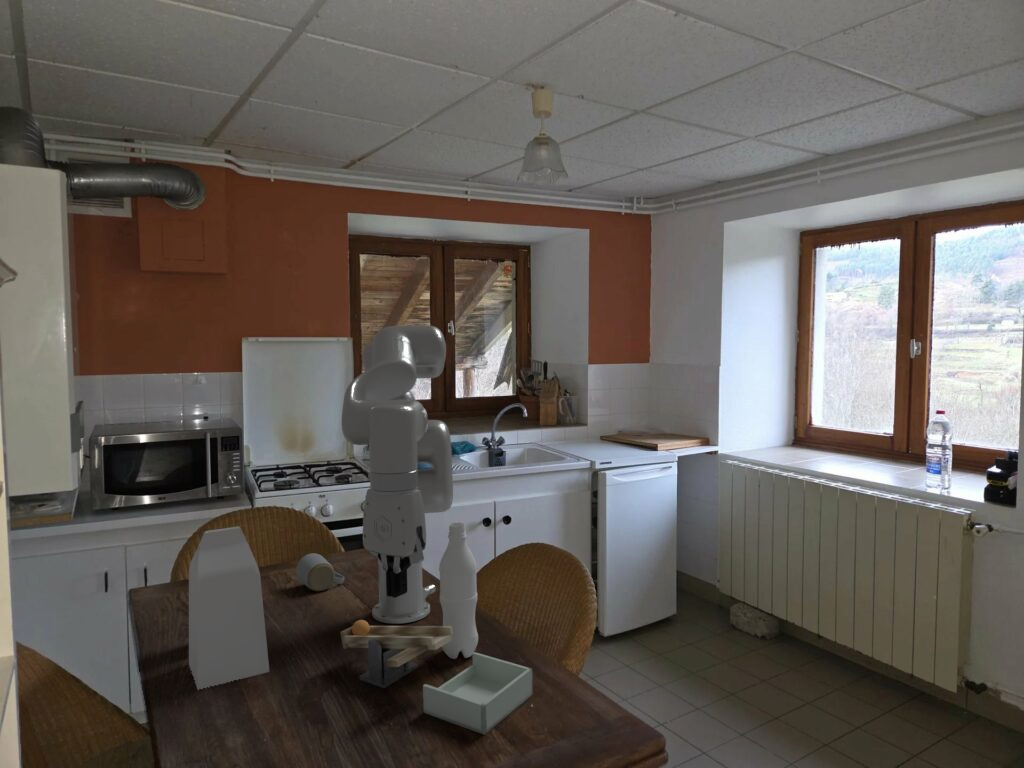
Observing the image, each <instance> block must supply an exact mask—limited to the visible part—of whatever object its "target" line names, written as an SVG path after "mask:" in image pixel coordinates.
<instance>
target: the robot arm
mask: <svg viewBox="0 0 1024 768" xmlns="http://www.w3.org/2000/svg"><path fill="white" fill-rule="evenodd" d="M446 344H447V343H446V340H445V336H444V334H443V332H442V331H441V329H439V327H436V326H434V325H427V324H426V325H424V324H422V325H392V326H391V325H390V326H386V327H383V328H382V329H380V330H379V331H378V332H376V334H375V335H374V338H373V340H372V342H369V343H368V344H366V345H365V346H364V348H363V351H362V362H363V367H364V371H363V372H362V373H360V374H359V375H358V376H356V377H355V378H354V379H353V380H351V382H350V383H349V384H348V386H347V388H346V389H345V393H344V397H343V403H342V411H341V431H342V434H343V437H344V439H345V440H346V441H347V442H348V443H350V444H352V445H355V446H356V445H357V446H366V445H369V447H368V448H369V450H368V452H369V472H368V473H367V479H368V480H369V482H370V483H369V484H370V486H369V487H370V488H368V489H367V490H366V494H365V499H364V507H363V515H362V517H363V518H362V545H363V547H364V549H366V550H367V551H369V553H370V554H371V555H373V556H375V558H377V565H378V568H377V569H378V570H377V571H378V573H377V574H378V598H379V600H378V603H377V604H375V605H374V607H372V610H371V611H372V612H371V614H372V615H371V616H372V617H373V619H374V620H375V621H377V622H380V623H384V624H392V625H394V624H395V625H396V624H400V625H401V624H408V623H413V622H417V621H420V620H422V619H425V618H426V617H427V616H428V615H429V614H430V612H431V605H430V603H429V602H428V601H426V598H427V597H428V596H430V595H431V594H434V593H435V592H436V591H437V589H436V586H435V585H434V584H431V583H430V584H429V585H427V586H425V587H423V561H424V560H425V558H424V557H425V556H424V551H425V549H426V546H427V525H426V515H425V514H436V513H444V512H447V511H448V510H450V509H451V507H452V505H453V500H454V483H453V482H454V481H453V480H454V479H453V464H452V463H453V462H452V461H453V460H452V459H453V458H452V441H451V440H452V439H451V434H450V430H449V427H448V425H447V424H446V423H445V422H444V421H442V420H438V419H429V418H428V413H427V410H426V408H424V405H423V403H421V402H420V401H418V400H416V398H415V395H414V393H412V391H411V390H412V389H414V386H415V385H416V382H417V379H435V378H438V377H440V375H442V373H443V371H444V368H445V363H446V357H447V345H446ZM419 464H429V465H430V466H431V467H432V468H430V469H429V468H428V469H427V468H426V469H425V468H424V469H423V468H422V469H418V465H419Z"/></svg>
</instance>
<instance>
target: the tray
mask: <svg viewBox="0 0 1024 768" xmlns="http://www.w3.org/2000/svg"><path fill="white" fill-rule="evenodd" d="M533 695H534V692H533V668H532V667H528V666H523V665H522V664H516V663H514V662H510V661H507V660H503V659H499V658H496V657H492V656H490V655H486V654H482V653H479V652H475V651H474V653H473V654H472V664H471V665H470V666H468V667H467V668H465V669H464V670H462V671H461V672H459V673H458V674H456V675H455V676H453V677H452V678H451V679H449V680H447V681H446V682H444V683H443V684H442V685H440V686H439V687H435V686H434V685H429V684H427V683H425V684H423V685H422V700H423V702H422V703H423V714H427V715H429V716H432V717H434V718H438V719H440V720H443V721H446V722H448V723H451V724H454V725H456V726H459V727H462V728H464V729H467V730H470V731H473V732H475V733H478V734H480V735H481V734H482V735H484V736H485V735H486V734H487V733H489V732H490V731H491V730H492V729H494V728H495V727H496V726H497V725H498V724H499V723H501V722H502V721H504V719H505V718H507V717H508V716H509V715H510V714H512V713H513V712H514V711H515V710H516V709H518V708H519V707H520V706H521V705H522V704H523V703H524V702H525V701H527V700H528V699H529V698H530V697H532V696H533Z"/></svg>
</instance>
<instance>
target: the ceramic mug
mask: <svg viewBox="0 0 1024 768" xmlns="http://www.w3.org/2000/svg"><path fill="white" fill-rule="evenodd" d="M295 570H296V571H295V573H296V577H297V579H298V581H300V582H301V583H302V584H304V586H306V587H307V588H308V589H309V590H311V591H314V592H323V591H325V590H328V589H329V588H330V587H331V586H332V585H333V584H335V585H343V583H344V581H345V576H344V575H342V574H340V573H338V572H336V571H335V568H334V567H333V565H332V564H331V563H330V562H328V560H327V559H326V558H324V556H323V555H321V554H318V553H313V552H312V553H311V552H310V553H308V554H306V555H305V554H304V556H302V557H301V559H299V561H298V563H297V565H296V569H295Z"/></svg>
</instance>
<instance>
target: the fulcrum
mask: <svg viewBox="0 0 1024 768" xmlns="http://www.w3.org/2000/svg"><path fill="white" fill-rule="evenodd" d="M367 649H368V670H367V671H366V672H364V673H362V674H360V675H359V676H358V678H359V679H358V680H360V681H363V682H366V683H368V684H370V685H373V686H377V687H378V688H379V687H380V688H382V689H385V688H387V687H388V686H390V685H392V684H393V683H395V682H397V681H399V680H400V679H402V678H404V677H405V676H406V675H408V674H410V673H411V672H413V671H415V670H416V669H418V668H419V663H417V662H413V661H411V660H409V661H408V662H406V663H404V664H402V665H401V666H399V667H387V662H386V660H388V659H389V658H391V657H393V656H395V655H397V654H398V653H400V652H402V651H404V650H405V649H389V648H381V642H379V641H375V640H372V639H371V640H369V641H368V648H367Z"/></svg>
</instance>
